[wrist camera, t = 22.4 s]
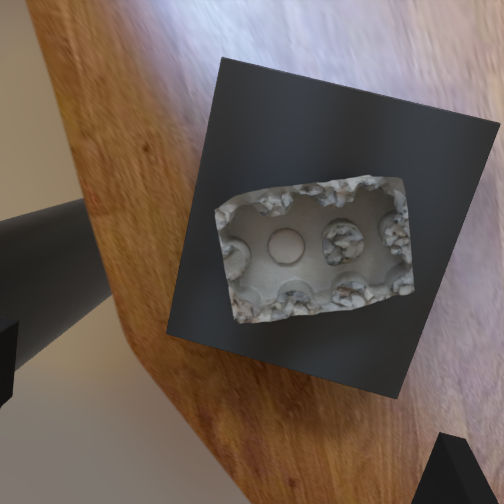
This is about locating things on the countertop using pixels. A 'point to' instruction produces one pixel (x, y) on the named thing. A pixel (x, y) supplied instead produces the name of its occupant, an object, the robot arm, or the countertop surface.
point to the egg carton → (315, 247)
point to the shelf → (320, 171)
